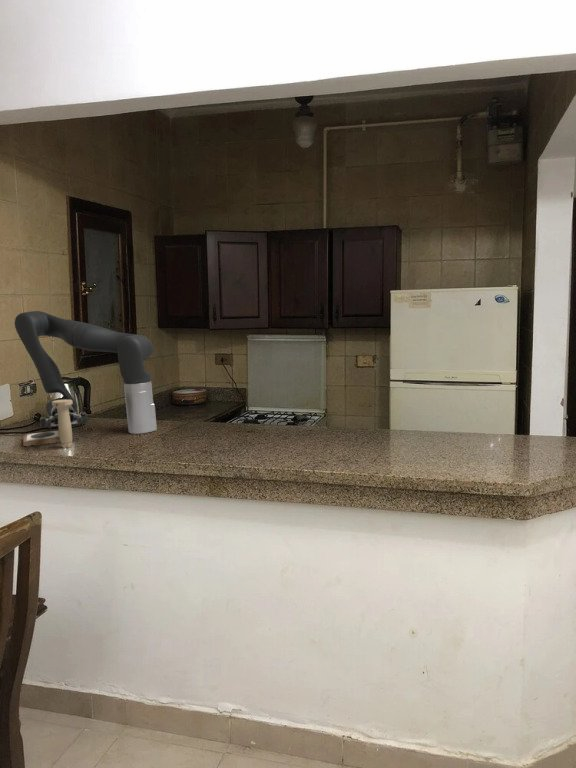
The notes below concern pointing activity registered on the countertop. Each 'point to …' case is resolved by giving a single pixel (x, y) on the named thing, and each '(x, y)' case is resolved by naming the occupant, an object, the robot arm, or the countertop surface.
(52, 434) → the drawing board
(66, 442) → the handle
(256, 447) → the countertop surface
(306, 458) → the countertop surface
